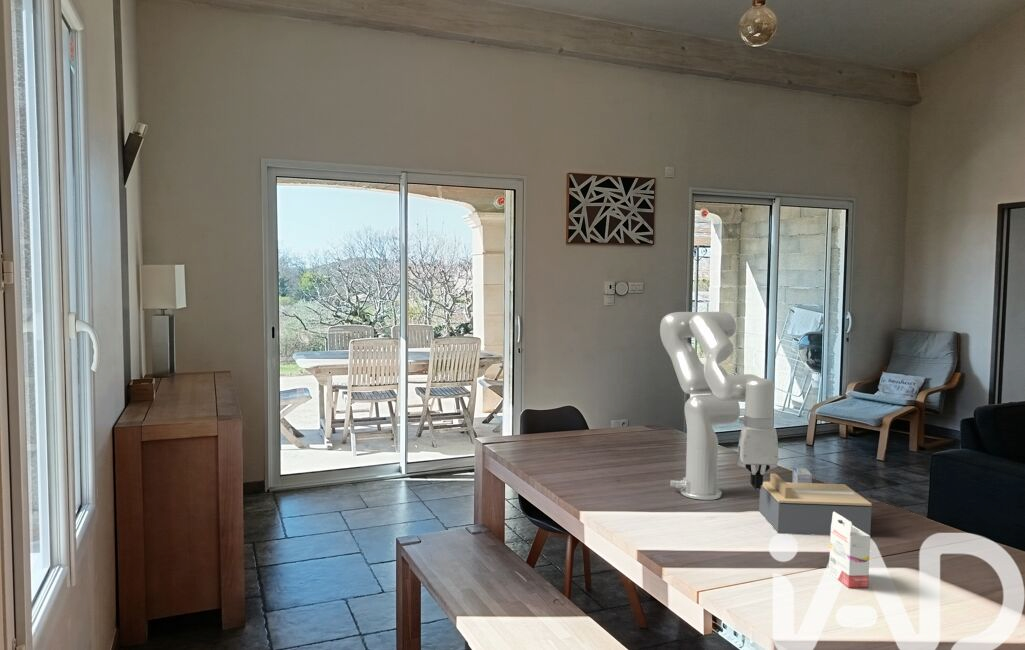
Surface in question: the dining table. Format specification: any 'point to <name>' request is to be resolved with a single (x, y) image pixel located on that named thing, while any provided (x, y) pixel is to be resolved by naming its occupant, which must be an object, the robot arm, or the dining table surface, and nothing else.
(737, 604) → the dining table surface
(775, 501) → the box
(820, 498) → the lid
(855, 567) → the ink cartridge box
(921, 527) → the dining table surface
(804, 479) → the medicine box
